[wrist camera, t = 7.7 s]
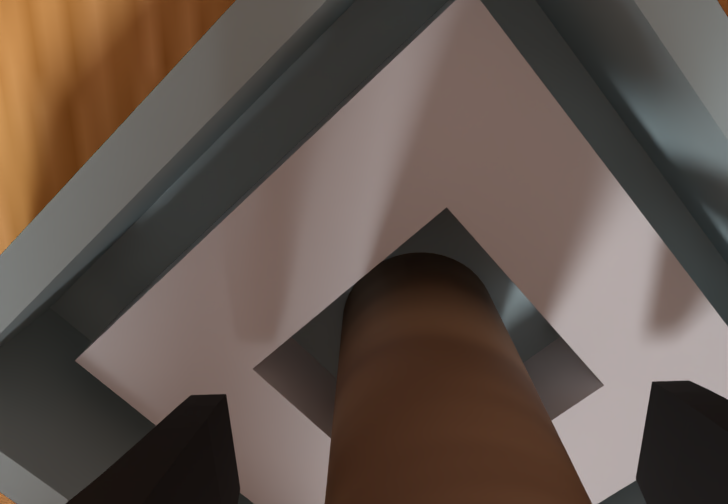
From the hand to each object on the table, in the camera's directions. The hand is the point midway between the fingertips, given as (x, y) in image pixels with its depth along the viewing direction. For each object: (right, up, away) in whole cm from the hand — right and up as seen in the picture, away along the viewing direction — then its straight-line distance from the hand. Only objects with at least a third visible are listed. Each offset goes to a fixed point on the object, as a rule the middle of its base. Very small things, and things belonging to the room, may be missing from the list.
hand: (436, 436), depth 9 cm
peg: (0, +1, +4) cm, 4 cm away
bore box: (0, +2, +4) cm, 5 cm away
